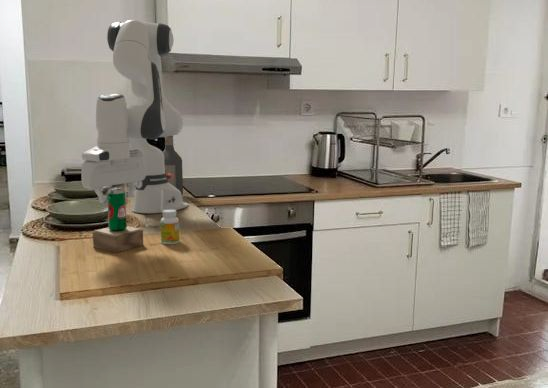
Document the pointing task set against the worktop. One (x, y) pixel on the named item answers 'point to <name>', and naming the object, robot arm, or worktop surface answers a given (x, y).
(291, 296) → the worktop surface
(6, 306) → the worktop surface
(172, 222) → the supplement bottle
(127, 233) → the walnut block
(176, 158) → the liquor
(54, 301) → the worktop surface
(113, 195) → the soda can
